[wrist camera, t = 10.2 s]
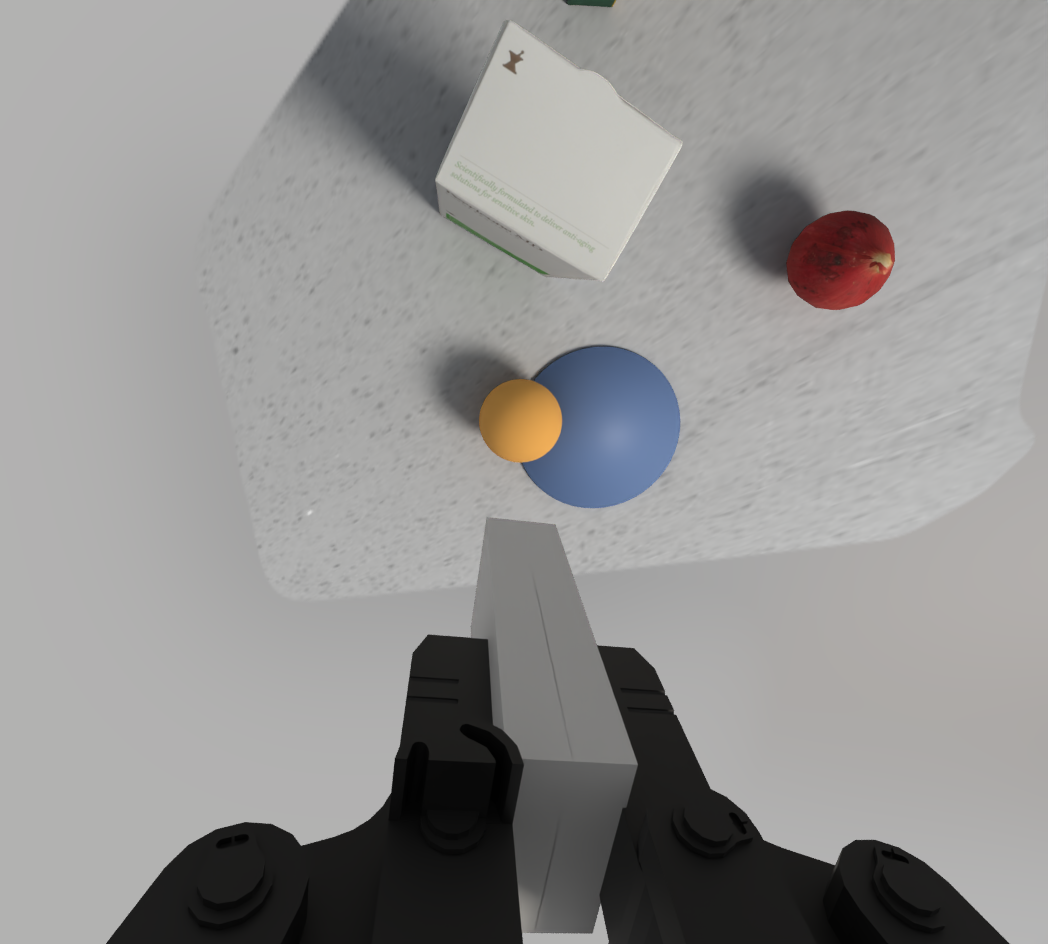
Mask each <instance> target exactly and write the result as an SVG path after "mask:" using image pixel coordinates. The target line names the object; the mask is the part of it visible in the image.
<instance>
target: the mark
mask: <svg viewBox="0 0 1048 944" xmlns="http://www.w3.org/2000/svg"><path fill="white" fill-rule="evenodd" d="M534 382H537V383H539V384H541V385H543V386H544V387H545V388H547V389H548V390H549V391H550V392H551V393H552V394H553V395H554V397H555V398H556V400H557V402H558V404H559V406H560V409H561V414H562V428H561V433H560V435H559V438H558V440H557V442H556V443H555V445H554V446H553V447H552V449H551V450H550V451H549V452H547V453H546V454H545V455H544V456H542V457H540V458H538V459H536V460H533V461H530V462H522V464H523V466H524V468H525V470H526V472H527V473H528V475H529V476H530V477H531V479H532V480H533V481H534V482H535V483H536V485H537V486H538V487H539V488H541V489H542V490H543V491H544V492H545V493H547V494H548V495H550V496H551V497H553V498H554V499H556V500H559V501H561V502H563V503H566V504H569V505H572V506H577V507H583V508H602V507H608V506H613V505H617V504H620V503H623V502H625V501H628V500H630V499H632V498H634V497H636V496H637V495H639V494H641V493H642V492H644V491H645V490H646V489H647V488H649V487H650V486H651V485H652V484H653V483H654V482H655V481H656V480H657V479H658V478H659V477H660V476H661V474H662V473H663V472H664V470H665V469H666V467H667V466H668V464H669V462H670V461H671V458H672V456H673V454H674V452H675V449H676V446H677V443H678V438H679V432H680V413H679V407H678V402H677V399H676V396H675V393H674V391H673V389H672V387H671V385H670V383H669V382H668V380H667V379H666V377H665V376H664V375H663V373H662V372H661V371H660V370H659V369H658V368H657V367H656V366H655V365H653V364H652V363H651V362H649V361H648V360H647V359H645V358H643V357H641V356H640V355H638V354H636V353H633V352H631V351H628V350H625V349H620V348H616V347H605V346H603V347H590V348H585V349H581V350H578V351H575V352H572V353H569V354H567V355H565V356H563V357H561V358H559V359H558V360H556V361H555V362H553V363H552V364H550V365H549V366H548V367H547V368H545V369H544V370H543V371H542V372H541V373H540V374H539V375H538V376H537V378H536V379H535V380H534Z"/></svg>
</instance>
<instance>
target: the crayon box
mask: <svg viewBox="0 0 1048 944" xmlns="http://www.w3.org/2000/svg"><path fill="white" fill-rule="evenodd" d="M615 2H616V0H567V4H568V5H587V6H601V7H613V5H614V3H615Z"/></svg>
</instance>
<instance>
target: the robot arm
mask: <svg viewBox="0 0 1048 944" xmlns="http://www.w3.org/2000/svg"><path fill="white" fill-rule="evenodd" d="M600 903H601V906H602V910H603V915H604V920H605V925H606V929H607V934H608V939H609V943H608V944H1009V943H1008V942H1007V941H1006V940H1005V939H1004V938H1003V937H1002V936H1001V935H1000V934H999V933H998V932H997V931H996V930H995V929H994V928H993V927H992V926H991V925H990V924H989V923H988V922H987V921H986V920H985V919H984V918H983V917H982V916H981V915H980V914H979V913H978V912H977V911H976V910H975V909H974V908H973V907H972V906H971V905H970V904H969V903H968V902H967V901H966V900H965V899H964V898H963V896H961V895H960V894H959V893H958V891H956V889H954V887H953V886H951V884H949V882H947V881H946V880H945V879H944V878H943V877H941V876H940V875H939V874H938V873H937V872H935V871H934V870H933V869H932V868H930V867H929V866H928V865H927V864H926V863H925V862H923V861H921V860H920V859H918V858H916V857H914V856H913V855H911V854H909V853H907V852H906V851H904V850H902V849H900V848H899V847H895V846H892V845H889V844H886V843H883V842H880V841H877V840H855V841H853V842H852V843H850V844H848V845H847V846H845V847H844V848H843V849H842V851H841V853H840V856H839V858H838V860H837V862H836V865H832V864H829V863H826V862H823V861H820V860H817V859H814V858H811V857H808V856H805V855H802V854H799V853H796V852H793V851H790V850H787V849H784V848H781V847H779V846H776V845H774V844H771V843H769V842H767V841H764V840H763V839H762V837H761V835H760V833H759V831H758V830H757V828H756V827H755V826H754V824H753V823H752V822H751V820H750V819H749V817H748V816H747V814H746V813H745V812H743V810H741V809H740V808H739V807H738V806H737V805H735V804H734V803H733V802H732V801H731V800H729V799H728V798H727V797H725V796H723V795H721V794H719V793H717V792H715V791H713V790H711V789H710V787H709V784H708V782H707V781H706V778H705V776H704V774H703V772H702V769H701V768H700V765H699V763H698V761H697V759H696V757H695V754H694V752H693V750H692V748H691V746H690V744H689V742H688V739H687V737H686V735H685V733H684V731H683V729H682V726H681V724H680V722H679V720H678V718H677V716H676V715H674V710H673V707H672V705H671V703H670V701H669V699H668V697H667V696H666V695H665V690H664V688H663V686H662V684H661V681H660V679H659V677H658V675H657V673H656V671H655V669H654V667H652V666H651V665H650V664H649V663H648V662H647V661H646V660H645V659H644V658H643V657H642V656H641V655H640V654H639V653H638V652H637V651H636V650H635V649H634V648H623V647H611V646H598V645H597V644H596V641H595V638H594V635H593V633H592V630H591V627H590V624H589V621H588V618H587V616H586V612H585V609H584V607H583V603H582V601H581V598H580V595H579V592H578V589H577V586H576V583H575V580H574V577H573V574H572V571H571V568H570V566H569V563H568V560H567V557H566V554H565V551H564V548H563V545H562V542H561V539H560V536H559V534H558V531H557V528H556V525H555V524H545V523H536V522H526V521H517V520H507V519H498V518H488V517H487V519H486V526H485V533H484V540H483V547H482V553H481V560H480V567H479V574H478V581H477V588H476V596H475V602H474V609H473V616H472V623H471V638H466V637H452V636H439V635H427V637H426V638H425V639H424V640H423V641H422V643H421V644H420V645H419V646H418V648H417V649H416V650H415V651H414V652H413V656H412V662H411V669H410V677H409V684H408V691H407V699H406V706H405V713H404V721H403V727H402V735H401V742H400V747H399V750H398V752H397V755H396V758H395V763H394V772H393V782H392V792H391V794H390V796H389V797H388V799H387V800H386V802H385V804H384V805H383V807H382V808H381V809H380V810H379V811H378V812H377V813H376V814H375V815H374V816H373V817H372V818H371V819H369V820H368V821H366V822H365V823H363V824H362V825H360V826H358V827H357V828H355V829H354V830H351V831H349V832H346V833H343V834H341V835H338V836H336V837H332V838H329V839H325V840H321V841H318V842H314V843H310V844H307V845H303V846H301V845H300V844H299V843H298V842H297V840H296V839H295V837H294V836H293V835H292V834H291V833H289V832H286V831H285V830H283V829H281V828H278V827H276V826H274V825H272V824H263V823H249V822H244V823H240V824H236V825H233V826H228V827H224V828H220V829H216V830H214V831H213V832H211V833H209V834H207V835H205V836H204V837H202V838H200V839H198V840H196V841H195V842H193V843H191V844H189V845H188V846H187V847H186V848H185V849H184V850H183V851H182V852H181V853H180V854H179V855H177V857H175V858H174V859H173V860H172V861H171V862H170V863H169V864H168V865H167V866H166V867H165V868H164V869H163V871H162V872H161V873H160V875H159V876H158V877H157V879H156V880H155V881H154V882H153V884H152V885H151V886H150V887H149V889H148V890H147V891H146V893H145V894H144V895H143V897H142V898H141V899H140V900H139V902H138V903H137V904H136V906H135V907H134V908H133V910H132V911H131V912H130V913H129V915H128V916H127V917H126V918H125V920H124V921H123V923H122V924H121V925H120V926H119V928H118V929H117V930H116V931H115V933H114V934H113V935H112V937H111V938H110V939H109V940H108V942H107V943H106V944H523V940H522V933H593V929H594V926H595V922H596V918H597V914H598V911H599V907H600Z"/></svg>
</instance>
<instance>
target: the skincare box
mask: <svg viewBox="0 0 1048 944" xmlns="http://www.w3.org/2000/svg"><path fill="white" fill-rule="evenodd" d="M682 144H683V143H682V141H681V140H680V139H678V138H677V137H675V136H673V135H672V134H670V133H669V132H668V131H666V130H665V129H664V128H662V127H661V126H660V125H658V124H657V123H656V122H654V121H653V120H652V119H650V118H649V117H648V116H646V115H645V114H644V113H642V112H641V111H640V110H638V109H637V108H636V107H634V106H633V105H632V104H630V103H629V102H628V101H626V100H625V99H623V98H622V97H621V96H619V95H618V94H617V92H616V91H615V89H614V88H613V86H612V85H611V84H610V83H609V81H607V80H606V79H605V78H604V77H602V76H601V75H599V74H598V73H595V72H593V71H590V70H586V69H581V68H579V67H578V66H577V65H575V64H574V63H572V62H571V61H570V60H568V59H567V58H565V57H564V56H562V55H561V54H560V53H558V52H557V51H555V50H554V49H553V48H551V47H550V46H548V45H547V44H545V43H544V42H542V41H541V40H540V39H538V38H537V37H536V36H534V35H533V34H531V33H530V32H528V31H527V30H525V29H524V28H522V27H521V26H519V25H518V24H516V23H514V22H513V21H511V20H509V21H504V22H503V24H502V26H501V29H500V31H499V33H498V36H497V38H496V40H495V42H494V44H493V46H492V49H491V51H490V53H489V55H488V57H487V60H486V62H485V64H484V67H483V69H482V71H481V73H480V76H479V78H478V80H477V82H476V85H475V87H474V89H473V92H472V94H471V96H470V99H469V101H468V103H467V106H466V108H465V110H464V112H463V115H462V117H461V119H460V122H459V124H458V126H457V128H456V131H455V133H454V135H453V137H452V140H451V142H450V144H449V147H448V149H447V151H446V154H445V156H444V158H443V160H442V163H441V165H440V168H439V170H438V173H437V175H436V178H435V181H436V188H437V196H438V204H439V212H440V214H441V215H442V216H443V217H445V218H447V219H448V220H450V221H452V222H453V223H455V224H457V225H458V226H460V227H462V228H463V229H465V230H467V231H469V232H470V233H472V234H474V235H475V236H477V237H479V238H480V239H482V240H484V241H486V242H487V243H489V244H491V245H492V246H494V247H496V248H498V249H499V250H501V251H503V252H505V253H506V254H508V255H510V256H511V257H513V258H515V259H517V260H518V261H520V262H522V263H523V264H525V265H527V266H528V267H530V268H532V269H533V270H535V271H537V272H538V273H540V274H542V275H543V276H545V277H554V278H568V279H584V280H599V281H601V282H603V281H604V280H605V279H606V277H607V275H608V274H609V272H610V270H611V269H612V267H613V265H614V264H615V262H616V260H617V259H618V257H619V255H620V254H621V252H622V250H623V249H624V247H625V245H626V243H627V242H628V240H629V238H630V237H631V235H632V233H633V231H634V230H635V228H636V226H637V224H638V223H639V221H640V219H641V217H642V216H643V214H644V212H645V210H646V209H647V207H648V205H649V203H650V202H651V200H652V198H653V196H654V195H655V193H656V191H657V189H658V188H659V186H660V184H661V182H662V181H663V179H664V177H665V175H666V173H667V172H668V170H669V168H670V166H671V165H672V163H673V161H674V159H675V158H676V156H677V154H678V152H679V151H680V149H681V147H682Z"/></svg>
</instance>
